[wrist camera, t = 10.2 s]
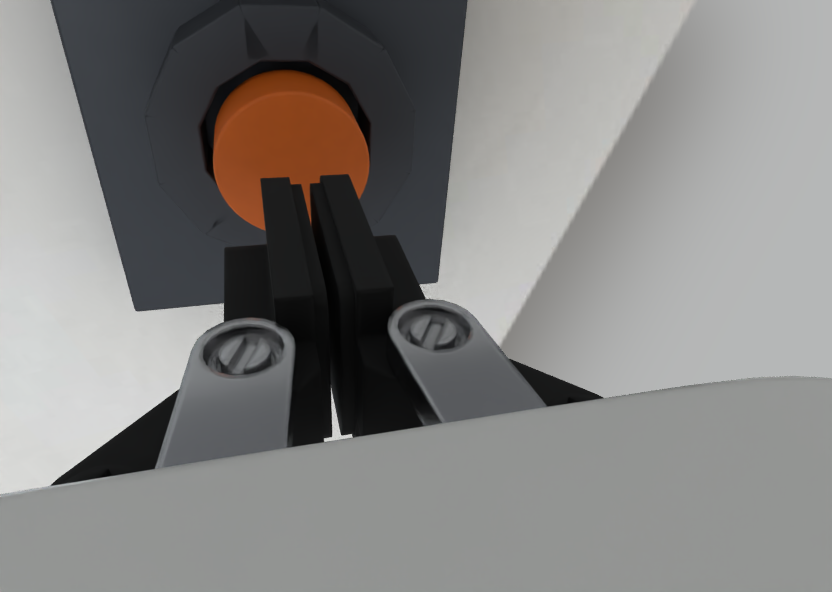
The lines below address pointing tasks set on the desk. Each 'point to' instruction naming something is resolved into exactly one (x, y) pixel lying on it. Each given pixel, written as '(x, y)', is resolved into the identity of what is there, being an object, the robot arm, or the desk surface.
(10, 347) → the desk surface
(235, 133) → the button
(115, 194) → the control block
